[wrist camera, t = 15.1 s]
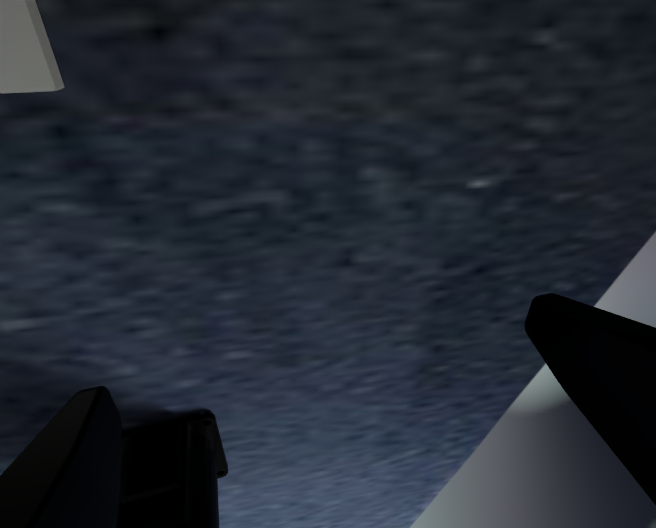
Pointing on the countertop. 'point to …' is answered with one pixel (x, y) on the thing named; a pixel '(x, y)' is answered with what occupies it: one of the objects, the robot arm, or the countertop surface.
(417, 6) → the countertop surface
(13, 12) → the grey flat plate
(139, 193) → the countertop surface
